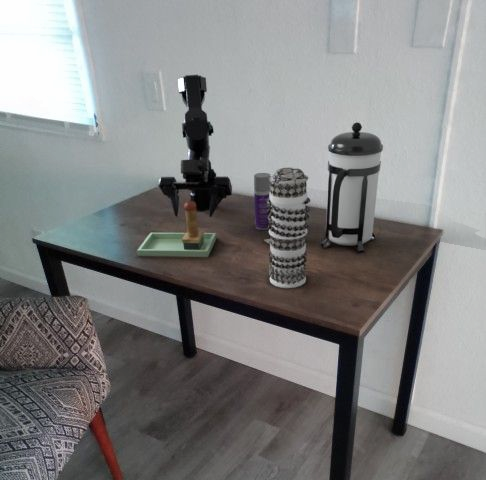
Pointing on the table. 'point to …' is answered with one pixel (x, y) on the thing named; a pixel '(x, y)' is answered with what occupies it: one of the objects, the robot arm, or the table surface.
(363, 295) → the table surface
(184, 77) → the robot arm
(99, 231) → the table surface
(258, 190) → the container
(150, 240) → the tray
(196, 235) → the wooden rubber stamp
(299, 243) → the decorative candle
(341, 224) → the coffee press
